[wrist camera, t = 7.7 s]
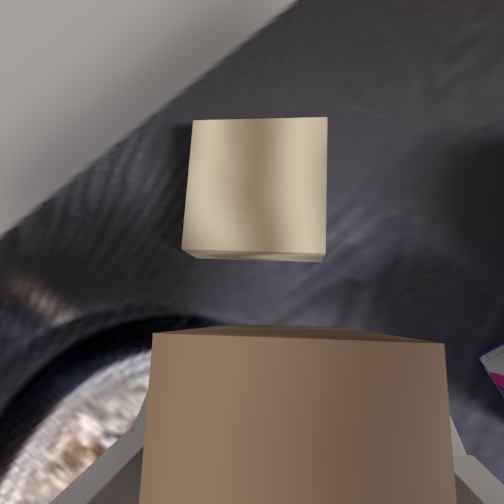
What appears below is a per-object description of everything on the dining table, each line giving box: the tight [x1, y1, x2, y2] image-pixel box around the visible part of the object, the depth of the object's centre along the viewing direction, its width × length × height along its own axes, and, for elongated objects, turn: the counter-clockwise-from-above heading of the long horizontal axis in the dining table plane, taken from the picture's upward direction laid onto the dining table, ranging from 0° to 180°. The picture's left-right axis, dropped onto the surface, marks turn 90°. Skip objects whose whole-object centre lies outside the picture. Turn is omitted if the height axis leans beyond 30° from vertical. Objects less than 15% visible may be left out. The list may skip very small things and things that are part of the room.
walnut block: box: [139, 324, 457, 504], centre depth 10 cm, size 5×5×10 cm
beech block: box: [181, 117, 327, 262], centre depth 26 cm, size 10×10×4 cm
